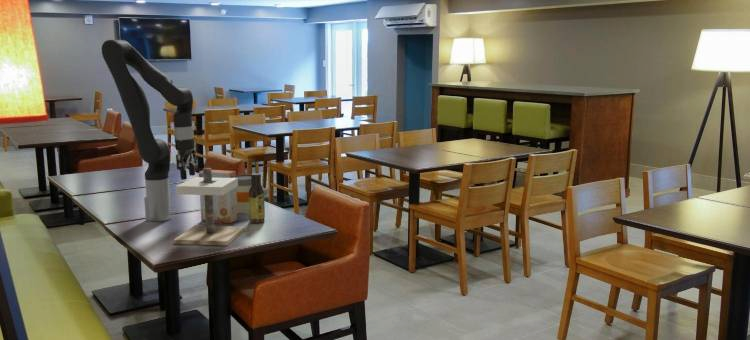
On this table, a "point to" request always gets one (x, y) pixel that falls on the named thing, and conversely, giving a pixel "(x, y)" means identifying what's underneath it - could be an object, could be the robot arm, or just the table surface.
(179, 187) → the off-white slab
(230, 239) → the pipe stand
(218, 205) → the cracker box
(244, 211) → the reusable coffee cup
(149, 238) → the table surface
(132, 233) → the table surface
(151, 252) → the table surface
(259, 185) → the sauce bottle
